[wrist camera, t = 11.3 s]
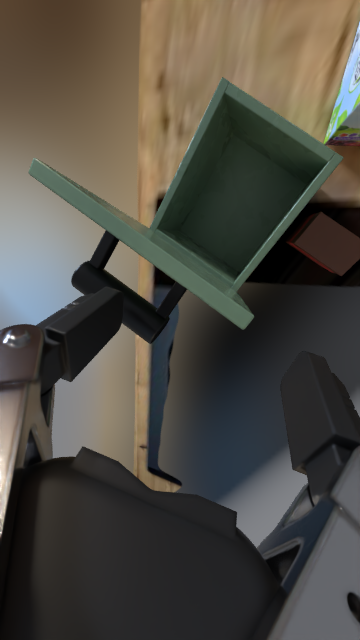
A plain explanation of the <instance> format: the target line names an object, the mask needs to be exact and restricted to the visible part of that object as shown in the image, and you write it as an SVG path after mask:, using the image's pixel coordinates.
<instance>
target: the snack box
mask: <svg viewBox="0 0 360 640" xmlns="http://www.w3.org/2000/svg"><path fill="white" fill-rule="evenodd" d="M324 145H344V146H360V23H359V26H358V30H357V33H356V37H355V40H354V43H353V47H352V50H351V53H350V57H349V60H348V63H347V66H346V70H345V73H344V76H343V80H342V83H341V87H340V90H339V93H338V97H337V100H336V103H335V107H334V110H333V113H332V117H331V120H330V124H329V127H328V130H327V133H326V137H325V140H324Z"/></svg>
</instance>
